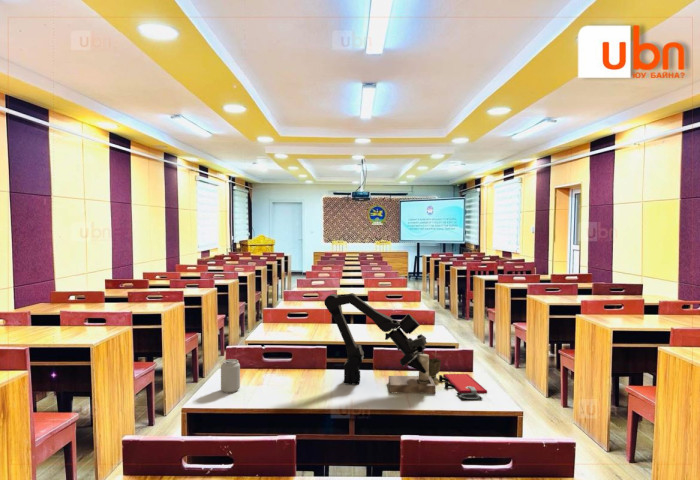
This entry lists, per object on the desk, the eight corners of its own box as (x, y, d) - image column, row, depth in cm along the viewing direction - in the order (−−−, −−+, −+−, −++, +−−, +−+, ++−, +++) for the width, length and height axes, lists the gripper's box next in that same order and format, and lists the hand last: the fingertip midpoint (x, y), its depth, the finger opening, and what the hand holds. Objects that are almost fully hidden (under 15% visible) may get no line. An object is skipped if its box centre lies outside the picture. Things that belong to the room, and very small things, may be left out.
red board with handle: (456, 401, 169) (494, 400, 171) (456, 393, 169) (494, 393, 171) (435, 377, 199) (467, 377, 201) (435, 371, 199) (467, 370, 201)
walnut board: (390, 392, 178) (390, 385, 178) (388, 382, 190) (388, 375, 190) (435, 393, 177) (435, 385, 177) (430, 383, 189) (430, 376, 189)
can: (217, 390, 179) (217, 360, 179) (233, 385, 185) (233, 357, 184) (227, 394, 174) (227, 364, 174) (243, 390, 179) (243, 360, 179)
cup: (439, 375, 201) (440, 357, 201) (441, 380, 193) (441, 362, 193) (423, 374, 201) (423, 357, 201) (424, 379, 194) (424, 361, 194)
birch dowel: (419, 388, 180) (419, 356, 180) (417, 384, 185) (418, 353, 184) (429, 388, 180) (429, 356, 180) (427, 385, 184) (428, 354, 184)
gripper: (407, 333, 176) (434, 365, 171) (421, 325, 192) (446, 353, 188) (388, 350, 179) (414, 382, 174) (404, 341, 196) (428, 369, 191)
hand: (426, 371), depth 182 cm, fingers closed on birch dowel, 4 cm apart
